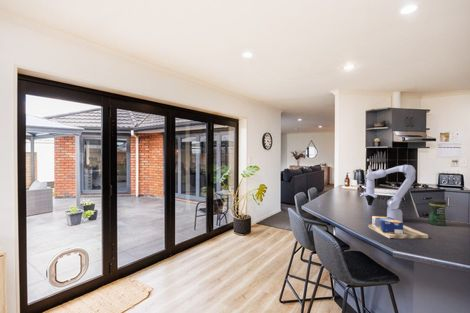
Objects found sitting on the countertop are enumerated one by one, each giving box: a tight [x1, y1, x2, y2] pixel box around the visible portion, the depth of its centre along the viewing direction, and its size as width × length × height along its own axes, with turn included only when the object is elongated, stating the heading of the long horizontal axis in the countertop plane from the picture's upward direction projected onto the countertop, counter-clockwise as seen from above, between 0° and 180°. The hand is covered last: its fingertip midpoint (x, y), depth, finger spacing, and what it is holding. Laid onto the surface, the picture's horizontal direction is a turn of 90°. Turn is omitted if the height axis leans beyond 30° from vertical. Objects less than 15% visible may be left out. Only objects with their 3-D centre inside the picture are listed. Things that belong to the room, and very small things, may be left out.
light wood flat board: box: [367, 224, 429, 239], centre depth 155 cm, size 24×22×2 cm
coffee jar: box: [427, 198, 447, 227], centre depth 174 cm, size 10×8×19 cm
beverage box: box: [371, 215, 404, 234], centre depth 158 cm, size 7×11×22 cm
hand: (369, 205), depth 188 cm, fingers closed
